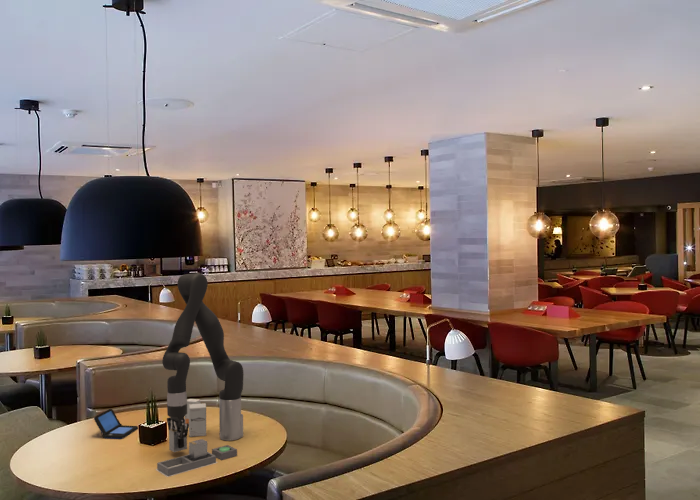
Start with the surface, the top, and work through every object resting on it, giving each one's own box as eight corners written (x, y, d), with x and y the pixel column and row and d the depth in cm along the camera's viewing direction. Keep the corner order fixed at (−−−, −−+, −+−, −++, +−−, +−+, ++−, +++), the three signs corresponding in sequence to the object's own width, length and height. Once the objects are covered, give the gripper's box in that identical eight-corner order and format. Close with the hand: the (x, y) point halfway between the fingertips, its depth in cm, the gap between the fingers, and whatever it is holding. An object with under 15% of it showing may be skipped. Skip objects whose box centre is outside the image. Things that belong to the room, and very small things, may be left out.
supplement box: (189, 437, 263) (188, 408, 263) (188, 432, 270) (188, 403, 270) (206, 435, 265) (206, 407, 265) (205, 430, 272) (205, 402, 272)
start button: (226, 451, 240) (226, 446, 240) (231, 453, 238) (231, 448, 237) (217, 453, 238) (217, 448, 238) (222, 456, 235) (222, 451, 235)
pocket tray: (205, 458, 237) (205, 449, 237) (217, 465, 230) (217, 456, 230) (155, 472, 223) (155, 462, 223) (167, 479, 216) (167, 470, 216)
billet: (182, 446, 242) (181, 426, 242) (187, 448, 240) (186, 428, 239) (169, 449, 239) (168, 429, 238) (174, 452, 236) (173, 431, 236)
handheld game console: (122, 440, 261) (122, 418, 260) (93, 439, 262) (92, 417, 262) (139, 428, 276) (139, 408, 276) (111, 427, 278) (111, 407, 277)
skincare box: (184, 426, 278) (184, 400, 278) (189, 424, 282) (189, 398, 282) (195, 428, 276) (195, 401, 276) (200, 425, 280) (200, 399, 280)
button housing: (227, 453, 243) (227, 444, 243) (237, 458, 237) (237, 449, 237) (212, 457, 238) (211, 449, 238) (221, 462, 233) (221, 453, 233)
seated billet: (202, 459, 233) (202, 438, 233) (207, 462, 230) (207, 441, 230) (189, 463, 230) (188, 441, 229) (194, 466, 227) (194, 444, 226)
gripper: (159, 401, 241) (160, 444, 242) (177, 408, 231) (178, 453, 231) (177, 397, 246) (178, 439, 247) (194, 404, 236) (195, 448, 237)
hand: (178, 446), depth 239 cm, fingers closed on billet, 4 cm apart
